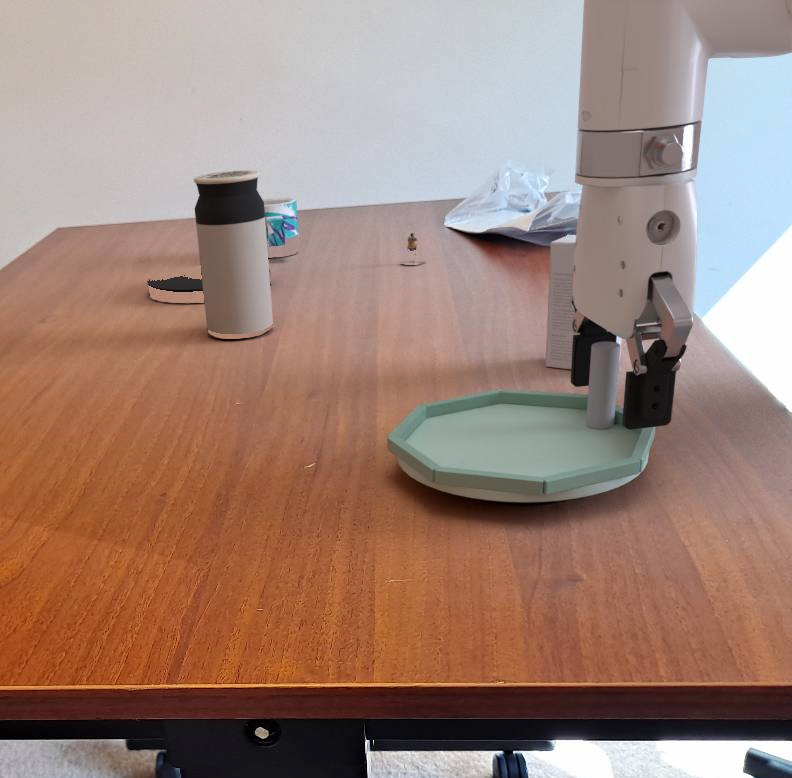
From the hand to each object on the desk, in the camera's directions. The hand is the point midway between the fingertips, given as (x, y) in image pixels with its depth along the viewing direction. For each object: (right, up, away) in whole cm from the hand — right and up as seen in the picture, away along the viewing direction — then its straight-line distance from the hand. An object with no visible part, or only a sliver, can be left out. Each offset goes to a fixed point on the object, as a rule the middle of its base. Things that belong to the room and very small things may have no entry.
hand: (617, 403), depth 71 cm
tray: (-7, -3, +1) cm, 8 cm away
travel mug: (-28, +15, +46) cm, 56 cm away
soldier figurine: (-3, +31, +74) cm, 80 cm away
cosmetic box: (+5, +7, +24) cm, 25 cm away
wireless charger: (-33, +26, +70) cm, 82 cm away
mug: (-23, +37, +89) cm, 99 cm away
